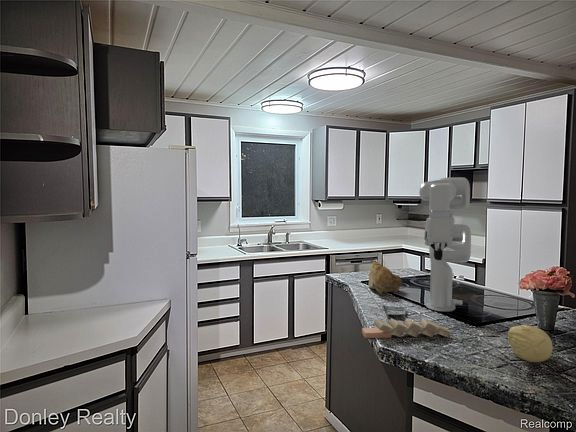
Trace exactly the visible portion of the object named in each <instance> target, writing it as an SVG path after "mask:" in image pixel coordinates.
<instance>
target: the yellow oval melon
mask: <svg viewBox="0 0 576 432" xmlns="http://www.w3.org/2000/svg"><path fill="white" fill-rule="evenodd" d="M507 336H508V337H507V342H508V343H509V344H510V347H511V349H512V351H513V352H514V354H515V355H516V356H517V357H518V358H519V359H521V360H523V361H527V362H530V363H541V362H545V361H547V360H548V359H549V358H550V357H551V356H552V354H553V350H554V349H553V347H554V345H553V342H552V340H551V339H552V338H551V337H550V336H549V335H548V334H547V332H546V331H544V330H542V329H541V328H539V327H536V326H532V325H527V324H522V325H516V326H515V325H514V326H511V327H510V328H509V330H508V331H507Z"/></svg>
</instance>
